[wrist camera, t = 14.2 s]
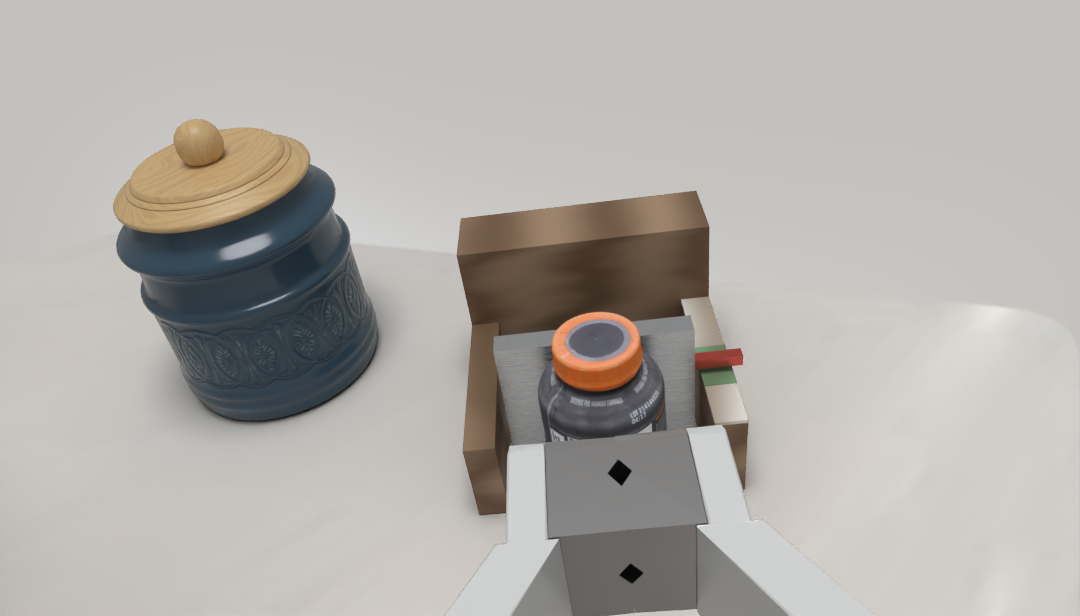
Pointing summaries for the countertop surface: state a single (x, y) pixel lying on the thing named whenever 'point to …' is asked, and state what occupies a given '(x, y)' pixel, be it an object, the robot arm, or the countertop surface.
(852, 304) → the countertop surface
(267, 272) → the canister
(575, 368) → the pill bottle
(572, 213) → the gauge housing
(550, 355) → the brushed metal plate
